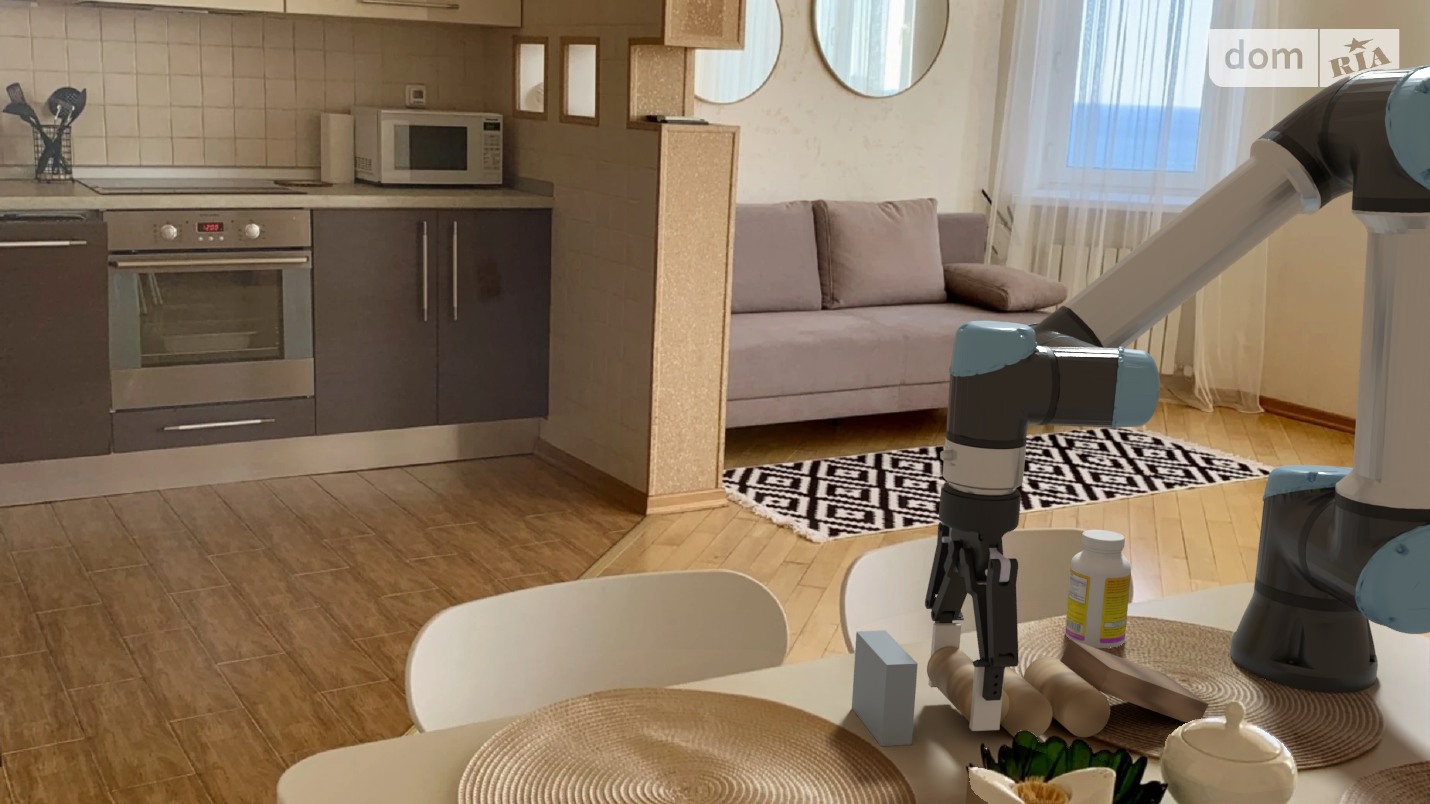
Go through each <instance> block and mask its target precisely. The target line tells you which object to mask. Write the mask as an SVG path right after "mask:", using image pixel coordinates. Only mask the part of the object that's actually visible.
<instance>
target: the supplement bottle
mask: <svg viewBox="0 0 1430 804" xmlns="http://www.w3.org/2000/svg"><path fill="white" fill-rule="evenodd" d="M1081 535H1082V536H1081V544H1082V545H1081V546H1082V550H1081V551H1080V552H1077V553H1076V554H1075V555H1074V556H1073V557H1072V559H1071V561H1070V571H1069V583H1068V593H1067V595H1068V596H1067V606H1066V618H1065V629H1064V630H1065V634H1064V635H1065V636H1066V638H1067V637H1068V638H1069V639H1068V638H1067V639H1068V640H1070V639H1072V640H1075V641H1077V642H1080V643H1083V644H1085V645H1088V646H1091V647H1094V648H1096V649H1103V648H1108V649H1113V648H1112V647H1116V648H1119V647H1121V646H1122V645H1121V644H1123V643H1124V644H1125V642H1126V631H1127V621H1128V610H1129V608H1128V607H1129V597H1130V587H1131V575H1132V574H1131V573H1132V566H1131V563H1130V562H1129V560H1128V559H1127V558H1126V557H1125V556H1123V554H1122V551H1123V550H1124V548H1125V542H1126V541H1125V539H1126V538H1125V536H1124V535H1122V534H1121V533H1119V532H1116V531H1111V530H1105V529H1088V530H1085V531H1083V532H1082V534H1081ZM1124 644H1123V645H1124ZM1120 645H1121V646H1120ZM1118 646H1119V647H1118ZM1110 647H1111V648H1110Z"/></svg>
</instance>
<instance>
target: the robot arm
mask: <svg viewBox="0 0 1430 804" xmlns="http://www.w3.org/2000/svg"><path fill="white" fill-rule="evenodd" d="M1250 145H1251V146H1250V149H1249V150H1250V151H1249V157H1248V159H1246V160H1245V161H1244V162H1243V163H1241V164H1240V165H1239V166H1238V167H1236V168H1234V170H1232V171H1231V172H1230V173H1229V174H1227V175H1226V176H1225V177H1223V178H1222V179H1221V180H1220V181H1218V182H1217V183H1216V184H1215V185H1213V186H1212V187H1211V188H1210V189H1208V191H1206V192H1204V194H1202V195H1201V196H1199V198H1197V199H1195V200H1194V201H1193V202H1192V203H1190V205H1188V206H1187V207H1185V208H1184V209H1183V210H1182V211H1181V212H1179V213H1178V214H1177V215H1176V216H1174V217H1173V218H1172V219H1170V220H1169V221H1168V222H1166V224H1164V225H1163V226H1162V227H1160V228H1159V229H1158V230H1157V231H1155V232H1154V233H1153V234H1151V236H1149V237H1147V238H1146V240H1144V241H1143V242H1142V243H1139V244H1138V246H1136V247H1135V248H1134V249H1132V250H1131V251H1130V252H1129V253H1128V254H1126V255H1124V257H1122V258H1121V259H1120V260H1119V261H1117V262H1116V263H1115V264H1114V265H1112V266H1111V267H1110V268H1109V269H1107V270H1106V271H1105V272H1103V273H1102V274H1101V275H1100V276H1098V277H1097V278H1096V279H1094V280H1093V281H1092V282H1091V283H1089V284H1088V285H1087V286H1086V287H1084V288H1083V289H1082V290H1080V291H1079V292H1078V293H1077V294H1076V295H1074V296H1073V297H1072V298H1071V299H1069V300H1068V301H1067V302H1066V303H1064V304H1063V305H1062V306H1060V307H1058V308H1057V309H1056V310H1055V311H1053V312H1051V313H1050V314H1049V315H1047V317H1045V318H1044V319H1043V320H1041V321H1040V322H1039V323H1036V322H1034V323H1028V324H1027V323H1026V324H1022V323H1018V322H1010V321H1009V322H1008V321H997V320H972V321H967V322H965V323H962V324H961V325H960V326H959V327H957V329H956V331H955V336H954V338H953V339H954V340H953V344H952V351H951V352H952V353H951V359H950V365H949V369H948V373H949V380H948V381H949V384H948V398H947V399H948V400H947V401H948V402H947V414H946V415H947V416H946V417H947V418H946V431H945V442H944V450H942V451H940V452H939V455H940V460H942V461H943V465H942V477H943V478H944V479H945V480H946V482H944V483H943V484H942V485H941V486H940V495H939V496H940V497H939V510H938V518H939V520H940V521H939V522H938V525H937V538H936V539H937V541H936V547H935V552H934V557H933V560H932V564H931V565H932V567H931V571H930V576H929V581H928V586H927V589H926V595H925V600H924V607H925V608H926V609H927V610H931V612H930V618H931V620H932V622H934V623H933V624H932V635H931V637H932V638H931V645H930V646H931V648H930V657H931V656H932V655H933V654H934V653H935V652H936V651H937V650H939V649H941V648H943V647H947V646H952V647H956V648H959V649H960V645H961V644H960V643H961V635H962V634H961V633H962V625H961V624H960V623H959V622H956V621H964V620H965V618H964V615H963V612H962V608H963V605H964V603H965V600H966V598H967V596H968V595H970V596H971V598H972V607H973V614H974V616H973V617H974V622H975V631H976V638H977V646H978V653H979V659H976V660H972V661H973V665H974V667H975V668H974V679H973V691H972V693H973V694H972V705H971V716H970V722H969V725H968V726H969V729H970V731H972V732H980V731H981V732H982V731H983V732H984V731H1000V727H1001V726H1000V725H1001V724H1000V716H1001V705H1002V694H1003V683H1004V672H1005V667H1010V668H1013V667H1018V665H1019V662H1020V661H1019V660H1020V659H1019V634H1018V633H1019V632H1018V604H1017V603H1018V601H1017V579H1018V573H1019V571H1018V570H1019V562H1018V559H1017V558H1014V557H1013V558H1007V557H1005V556H1004V548H1003V547H1004V546H1003V537H1004V536H1005V535H1006V534H1007V533H1010V532H1013V531H1015V530H1016V529H1017V528H1018V527H1019V523H1020V512H1021V500H1022V494H1021V492H1020V490H1019V489H1018V488H1019V487H1020V486H1022V485H1023V483H1024V472H1025V462H1026V451H1027V439H1028V437H1027V435H1028V429H1029V426H1030V425H1031V426H1042V427H1043V426H1059V427H1061V426H1062V427H1064V426H1065V427H1087V428H1088V427H1089V428H1110V429H1111V430H1116V429H1117V428H1118V429H1119V428H1135V427H1137V428H1138V427H1142V426H1144V425H1145V424H1147V423H1148V422H1149V421H1151V419H1152V418H1153V416H1154V415H1155V412H1156V409H1157V407H1158V404H1159V400H1160V389H1161V381H1160V373H1159V368H1158V365H1157V363H1156V361H1155V359H1154V358H1153V357H1152V355H1151V354H1150V353H1148V352H1147V351H1145V350H1143V349H1133V348H1127V347H1129V346H1131V344H1133V342H1135V341H1136V340H1138V339H1139V338H1140V337H1141V336H1143V335H1144V334H1146V333H1147V332H1148V331H1149V330H1150V329H1152V328H1153V327H1154V326H1156V325H1157V324H1158V323H1160V322H1161V321H1162V320H1163V319H1165V318H1166V317H1167V316H1169V314H1171V313H1172V312H1173V311H1175V310H1177V309H1178V308H1179V307H1180V306H1181V305H1183V304H1184V303H1185V302H1186V301H1189V299H1190V298H1191V297H1193V296H1194V295H1195V294H1197V293H1198V292H1200V291H1201V290H1202V289H1203V288H1204V287H1206V286H1207V285H1208V284H1210V283H1211V282H1212V281H1213V280H1215V279H1216V278H1218V276H1220V275H1221V274H1222V273H1223V272H1225V271H1226V270H1228V268H1230V267H1231V266H1233V265H1234V264H1235V263H1236V262H1238V261H1239V260H1241V259H1242V258H1243V257H1244V256H1245V255H1246V254H1248V253H1249V252H1251V251H1252V250H1253V249H1254V248H1256V247H1257V246H1259V245H1260V244H1261V243H1262V242H1263V241H1265V240H1266V239H1268V238H1270V236H1271V235H1272V234H1274V233H1275V232H1277V231H1278V230H1279V229H1280V228H1282V227H1284V225H1285V224H1286V223H1288V222H1289V221H1291V220H1292V219H1293V218H1295V216H1297V215H1299V214H1300V215H1309V216H1311V215H1313V214H1316V213H1317V212H1319V211H1320V210H1321V209H1322V208H1323V207H1325V206H1326V205H1327V204H1329V203H1331V202H1332V201H1333V200H1335V199H1337V198H1340V197H1341V196H1343V195H1346V194H1349V193H1351V192H1352V196H1351V197H1352V198H1351V199H1352V200H1351V214H1352V215H1353V216H1355V218H1356V219H1357V220H1358V221H1359V222H1360V223H1361V224H1362V225H1363V226H1364V228H1365V229H1366V232H1367V234H1366V235H1367V238H1366V239H1367V240H1366V254H1365V255H1366V256H1365V271H1364V283H1363V284H1364V288H1363V301H1362V302H1363V303H1362V315H1361V316H1362V318H1361V319H1362V320H1361V332H1360V333H1361V337H1360V350H1359V352H1360V354H1359V366H1358V367H1359V369H1358V385H1357V399H1356V413H1355V414H1356V417H1355V431H1354V445H1353V446H1354V448H1353V461H1352V462H1353V463H1352V464H1353V465H1352V467H1347V466H1337V465H1336V466H1335V465H1334V466H1333V465H1317V464H1315V465H1314V464H1293V465H1292V464H1289V465H1281V466H1278V467H1275V468H1274V469H1272V470H1271V471H1270V473H1269V474H1268V476H1267V481H1266V485H1265V489H1264V493H1263V495H1262V502H1263V504H1262V505H1263V507H1262V514H1261V515H1262V517H1261V523H1260V524H1261V525H1260V531H1259V532H1260V534H1259V542H1258V549H1257V559H1256V569H1255V576H1254V577H1255V578H1254V586H1253V593H1252V596H1251V598H1250V600H1249V602H1248V605H1246V606H1247V607H1246V609H1245V610H1244V613H1243V615H1242V616H1241V619H1240V622H1239V624H1238V626H1237V628H1236V631H1235V632H1234V633H1233V634H1232V636H1231V640H1230V648H1229V650H1230V651H1229V655H1230V654H1231V656H1230V658H1231V657H1232V658H1233V660H1234V661H1235V662H1236V663H1235V662H1234V661H1233V660H1232V661H1233V662H1234V663H1235V664H1236V665H1237V664H1238V665H1239V666H1238V665H1237V666H1238V667H1240V668H1241V669H1242V668H1243V669H1242V670H1244V669H1245V670H1244V671H1245V672H1247V671H1248V673H1249V672H1250V673H1249V674H1251V675H1252V676H1255V675H1256V676H1255V677H1257V676H1258V677H1257V678H1259V679H1262V678H1264V679H1266V680H1265V681H1267V682H1270V681H1271V682H1270V683H1273V682H1274V683H1273V684H1276V685H1279V686H1283V687H1287V688H1292V689H1294V690H1295V689H1296V690H1300V691H1305V692H1312V693H1320V694H1321V693H1322V694H1323V693H1325V694H1351V693H1359V692H1363V691H1365V690H1367V689H1371V687H1373V686H1374V685H1375V683H1376V682H1377V675H1378V669H1379V668H1378V667H1379V660H1378V657H1377V655H1376V649H1375V643H1374V638H1373V634H1372V629H1371V625H1370V624H1371V623H1370V622H1372V623H1374V624H1377V625H1379V626H1384V627H1387V628H1388V629H1391V630H1393V631H1395V632H1399V633H1402V634H1408V635H1421V634H1424V635H1425V634H1429V633H1430V64H1429V65H1420V66H1413V67H1403V68H1401V67H1400V68H1392V69H1391V68H1390V69H1371V70H1364V71H1359V72H1356V73H1353V74H1349V75H1348V76H1345V77H1343V78H1341V79H1339V80H1336V81H1335V82H1333V83H1331V84H1330V85H1328V86H1327V87H1325V88H1323V89H1321V91H1319V92H1317V93H1316V94H1314V95H1313V96H1311V98H1309V99H1307V100H1306V101H1304V102H1303V103H1301V105H1299V106H1297V108H1295V109H1294V110H1293V111H1292V112H1290V113H1289V114H1288V115H1286V116H1285V117H1284V118H1283V119H1281V120H1280V121H1278V122H1277V123H1276V124H1275V125H1273V126H1272V127H1271V128H1270V129H1268V130H1267V131H1266V132H1265V133H1263V134H1262V135H1261V136H1260V137H1258V138H1257V139H1256V140H1255V141H1254V142H1253V143H1251V144H1250ZM953 621H955V622H953ZM1232 658H1231V659H1232ZM1264 679H1263V680H1264ZM927 685H929V687H930V688H937V687H936V686H935V685H934V684H933V683H932V682H931V681H930V679H929V678H928V684H927Z"/></svg>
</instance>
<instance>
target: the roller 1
mask: <svg viewBox="0 0 1430 804" xmlns="http://www.w3.org/2000/svg"><path fill="white" fill-rule="evenodd" d="M973 661H974V660H973V659H971V658H970V657H969V656H968V655H967V654H966V653H965V652H964V651H963V650H961V648H960V647H959V648H956V647H952V646H947V647H943V648H941V649H939V650H937V651H936V652H935V653H934V654H933V655H932V656H931V655H930V657H929V660H928V661H927V666H926V674H927V678H928V680H929V679H930V681H931V682H932V683H933V684H934V685H935V686H936V687H935V688H936V689H938V690H939V692H941V694H942V695H943V696H945V698H946V699H947V700H948V701H949V702H950V703H951V704H952V705H953V707H955V708H956V709H957V710H958V711H959V713H961V715H962V717H963V716H964V718H965V720H967V721H968V722H969V723H970V716H971V705H972V694H973V693H972V691H973V679H974V668H975V667H974V665H973ZM1008 710H1009V698H1008V695H1007V693H1006V692H1005V691H1004V690H1003V694H1002V705H1001V716H1000V723H1001V722H1002V721H1003V720H1004V718H1005V717H1006V715H1007V713H1008Z"/></svg>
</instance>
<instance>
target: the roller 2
mask: <svg viewBox="0 0 1430 804" xmlns="http://www.w3.org/2000/svg"><path fill="white" fill-rule="evenodd" d="M1003 690H1004V691H1005V692H1006V693H1007V695H1008V698H1009V710H1008V713H1007V715H1006V717H1005V718H1004V720H1003V721H1002V722H1001V723H1000V725H1001V726H1002V727H1003V729H1004V730H1006V732H1008V733H1009V734H1010V735H1011V736H1012V737H1013V738H1015V737H1014V736H1015V733H1017V732H1018V731H1020V730H1029V731H1030V732H1032V733H1034V734H1035V735H1036V736H1037V737H1038V738H1040V737H1041V736H1042V735H1043V734H1044V733H1045V732H1046V731H1047V730H1048V728H1049V727H1050V726H1051V723H1052V720H1053V717H1052V707H1051V704H1050V702H1049V701H1048V700H1047V699H1046V698H1045V697H1044V696H1043V695H1042V694H1041V693H1039V692H1038V691H1037V690H1036V689H1035V688H1034V687H1033V686H1031V685H1030V684H1029V683H1028V682H1027V681H1026V680H1024V679H1023V677H1022V676H1021V675H1019V673H1018V672H1016V671H1015V670H1014V669H1013V667H1005V672H1004V683H1003Z"/></svg>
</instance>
